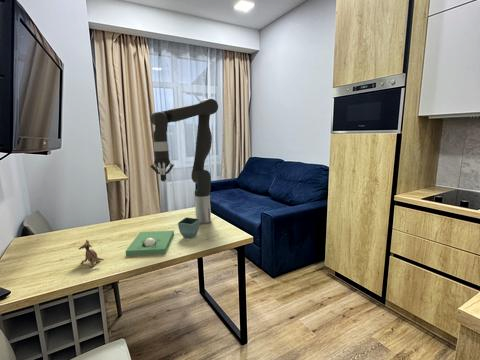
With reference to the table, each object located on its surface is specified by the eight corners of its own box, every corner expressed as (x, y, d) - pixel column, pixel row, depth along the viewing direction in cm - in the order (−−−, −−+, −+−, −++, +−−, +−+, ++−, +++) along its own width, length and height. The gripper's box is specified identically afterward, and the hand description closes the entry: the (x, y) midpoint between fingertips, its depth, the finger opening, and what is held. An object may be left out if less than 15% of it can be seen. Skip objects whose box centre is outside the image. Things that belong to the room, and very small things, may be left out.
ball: (153, 245, 120) (155, 250, 124) (155, 235, 123) (156, 240, 127) (142, 245, 120) (144, 250, 124) (144, 236, 123) (146, 240, 127)
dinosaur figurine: (76, 261, 112) (73, 242, 110) (90, 256, 117) (87, 237, 115) (92, 270, 105) (89, 250, 103) (106, 264, 110) (104, 244, 108)
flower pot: (193, 240, 132) (192, 224, 130) (178, 238, 135) (177, 222, 133) (200, 234, 140) (200, 218, 138) (186, 232, 143) (186, 217, 141)
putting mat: (174, 234, 140) (173, 230, 139) (165, 253, 118) (165, 248, 118) (140, 236, 138) (140, 231, 138) (126, 255, 117) (125, 250, 116)
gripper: (174, 149, 141) (176, 179, 145) (150, 149, 140) (153, 180, 144) (172, 150, 134) (174, 182, 137) (146, 150, 133) (149, 183, 136)
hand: (163, 181), depth 140 cm, fingers closed
